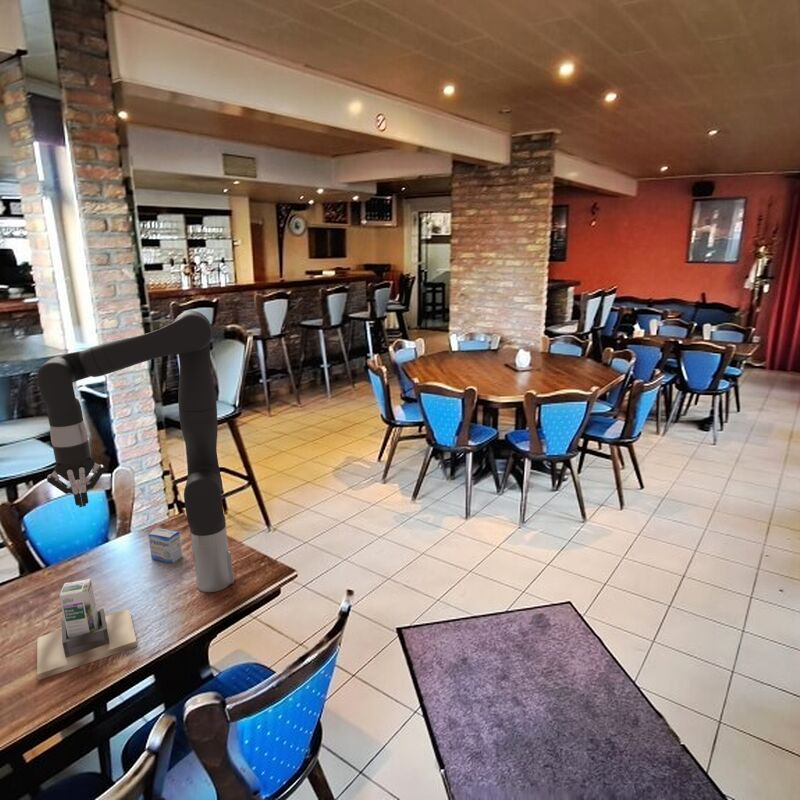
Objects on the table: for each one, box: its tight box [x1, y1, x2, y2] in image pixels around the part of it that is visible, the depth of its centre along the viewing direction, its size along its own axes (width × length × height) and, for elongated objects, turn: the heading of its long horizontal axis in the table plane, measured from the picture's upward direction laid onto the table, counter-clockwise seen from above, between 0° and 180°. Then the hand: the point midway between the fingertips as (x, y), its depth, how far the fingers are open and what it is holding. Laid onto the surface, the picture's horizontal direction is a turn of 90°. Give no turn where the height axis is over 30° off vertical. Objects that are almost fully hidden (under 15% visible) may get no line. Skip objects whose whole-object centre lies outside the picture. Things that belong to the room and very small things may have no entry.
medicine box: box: [148, 527, 183, 564], centre depth 169 cm, size 8×4×9 cm, turn 73°
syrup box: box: [58, 577, 100, 639], centre depth 131 cm, size 6×6×14 cm
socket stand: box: [36, 608, 138, 681], centre depth 133 cm, size 20×14×6 cm
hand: (82, 505), depth 140 cm, fingers closed
